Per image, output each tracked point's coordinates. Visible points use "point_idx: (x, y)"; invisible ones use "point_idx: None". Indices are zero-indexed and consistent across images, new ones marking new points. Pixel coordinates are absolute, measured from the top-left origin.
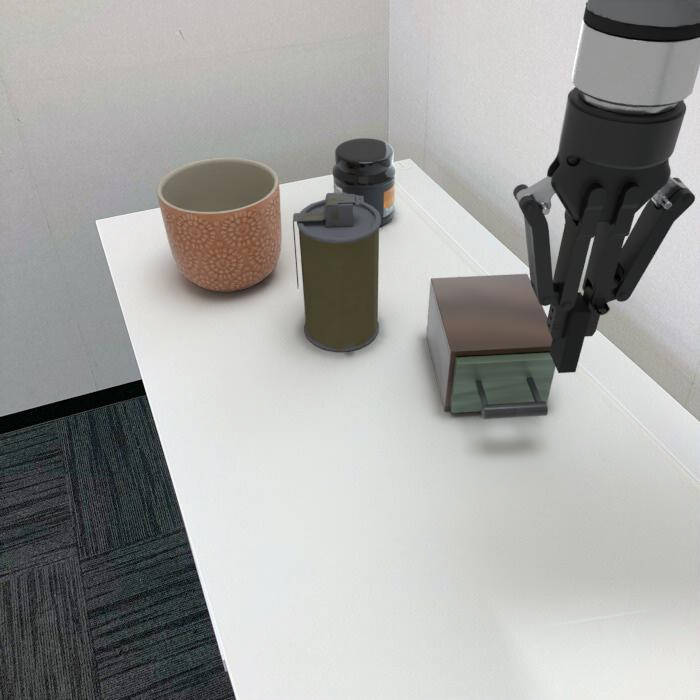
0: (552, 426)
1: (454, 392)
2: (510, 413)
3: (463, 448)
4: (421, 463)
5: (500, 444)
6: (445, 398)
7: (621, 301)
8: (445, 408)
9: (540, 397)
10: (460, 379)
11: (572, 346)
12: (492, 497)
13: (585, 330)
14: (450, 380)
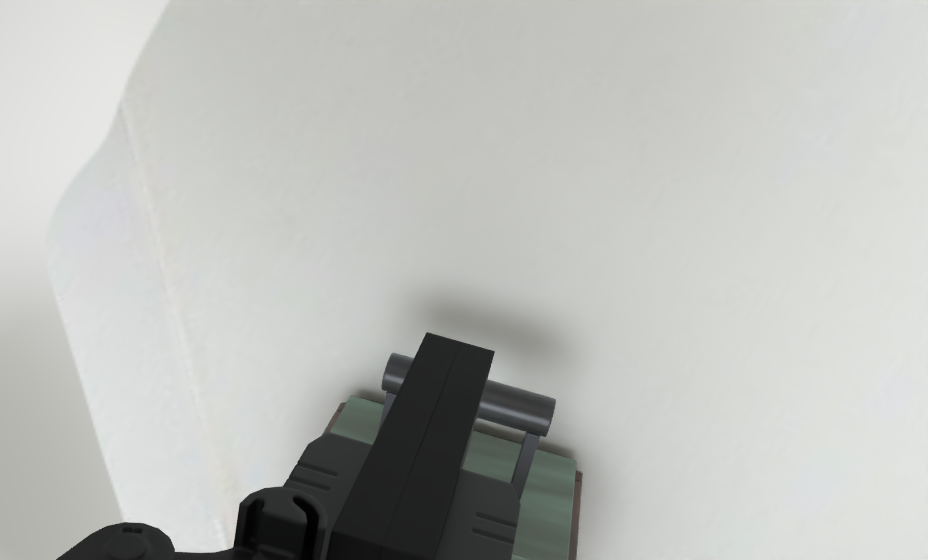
0: (357, 345)
1: (572, 503)
2: (486, 387)
3: (593, 362)
4: (714, 359)
5: (502, 342)
6: (580, 500)
7: (149, 526)
8: (580, 478)
9: (384, 404)
10: (557, 528)
11: (438, 415)
12: (600, 212)
13: (372, 456)
14: (570, 537)
